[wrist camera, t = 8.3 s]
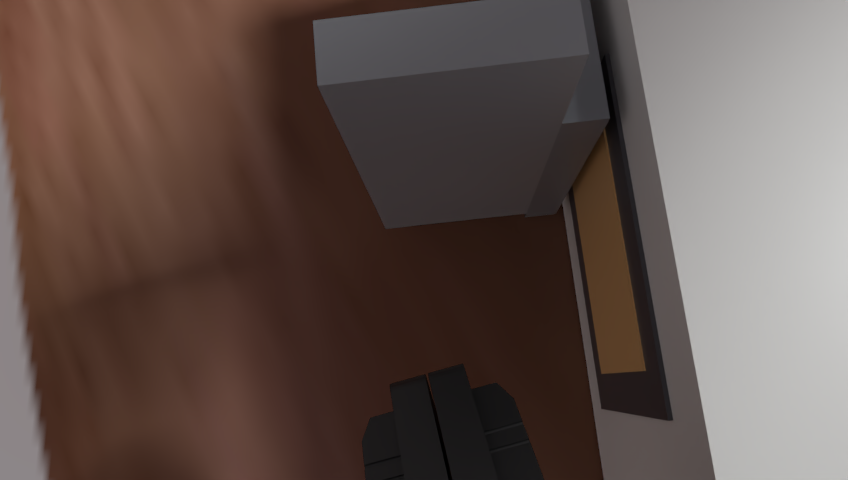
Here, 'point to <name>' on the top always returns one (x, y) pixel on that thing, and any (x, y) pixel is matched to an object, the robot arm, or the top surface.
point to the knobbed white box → (717, 240)
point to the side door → (465, 105)
